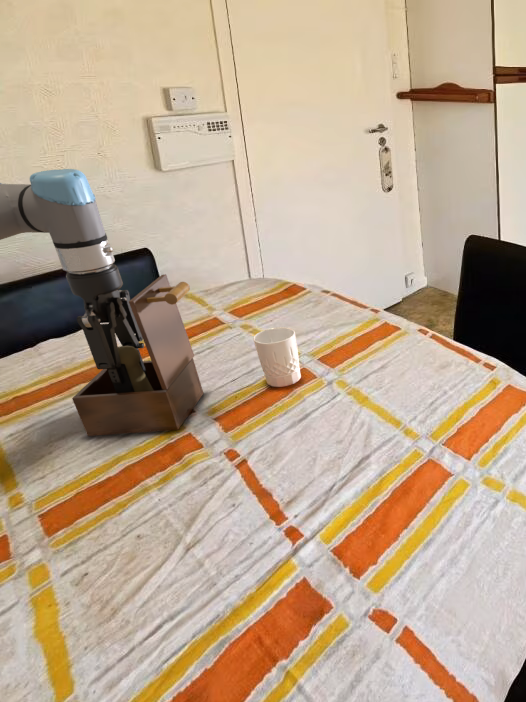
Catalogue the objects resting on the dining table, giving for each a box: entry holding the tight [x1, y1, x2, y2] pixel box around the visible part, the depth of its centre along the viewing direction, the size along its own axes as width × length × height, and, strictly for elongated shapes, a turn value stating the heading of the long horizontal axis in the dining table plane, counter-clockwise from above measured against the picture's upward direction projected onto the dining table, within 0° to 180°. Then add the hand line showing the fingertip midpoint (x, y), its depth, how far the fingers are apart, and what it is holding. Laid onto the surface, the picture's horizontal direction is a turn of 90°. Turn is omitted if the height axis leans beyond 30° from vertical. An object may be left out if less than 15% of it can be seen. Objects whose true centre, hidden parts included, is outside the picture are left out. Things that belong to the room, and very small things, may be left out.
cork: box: [118, 345, 154, 392], centre depth 113 cm, size 6×6×11 cm
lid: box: [129, 273, 195, 390], centre depth 110 cm, size 16×14×6 cm
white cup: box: [253, 326, 302, 388], centre depth 126 cm, size 8×8×10 cm
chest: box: [71, 357, 204, 437], centre depth 116 cm, size 16×14×8 cm
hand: (134, 389), depth 115 cm, fingers closed on cork, 5 cm apart
